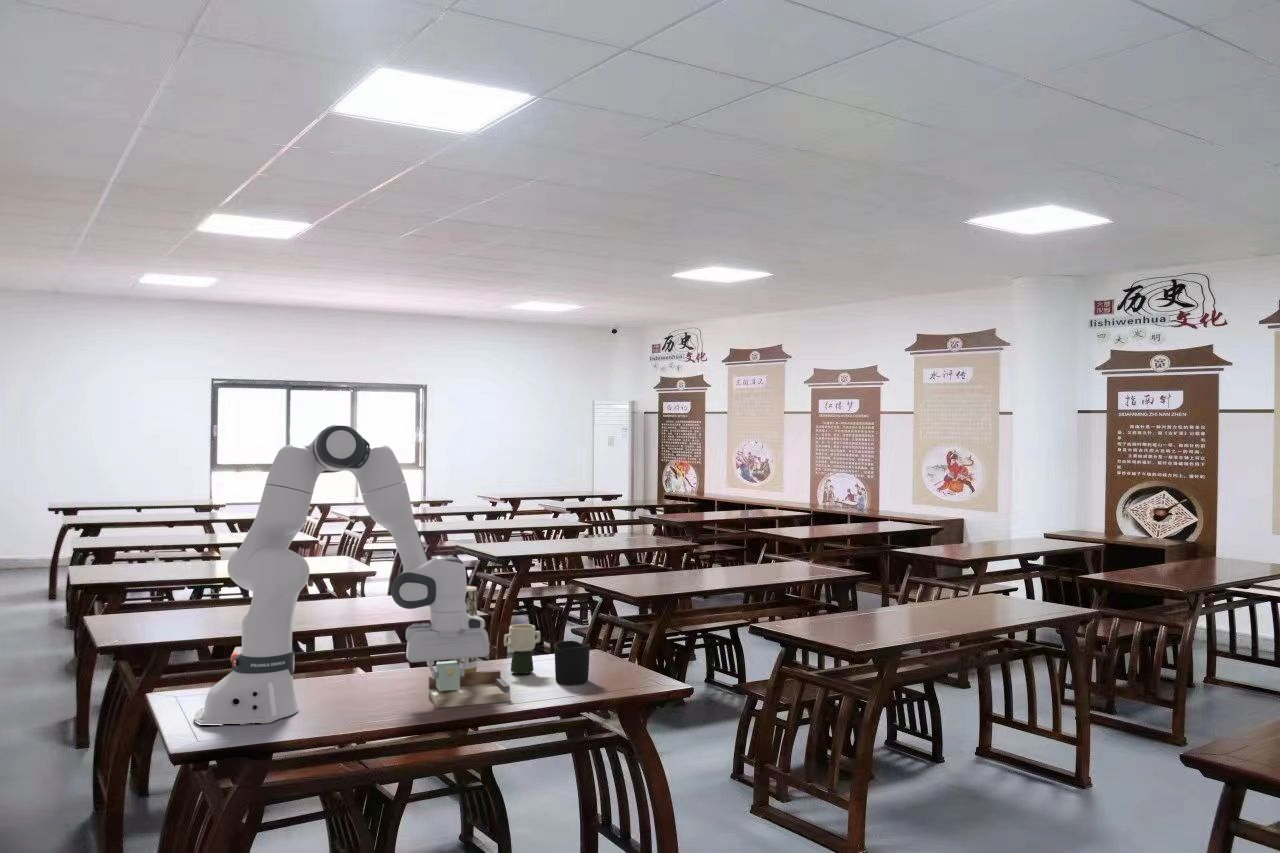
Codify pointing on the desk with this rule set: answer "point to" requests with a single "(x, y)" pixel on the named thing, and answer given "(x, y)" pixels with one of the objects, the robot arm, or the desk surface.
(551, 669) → the desk surface
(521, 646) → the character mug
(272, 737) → the desk surface
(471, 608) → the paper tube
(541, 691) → the desk surface
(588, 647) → the pen holder
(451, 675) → the mint green box
